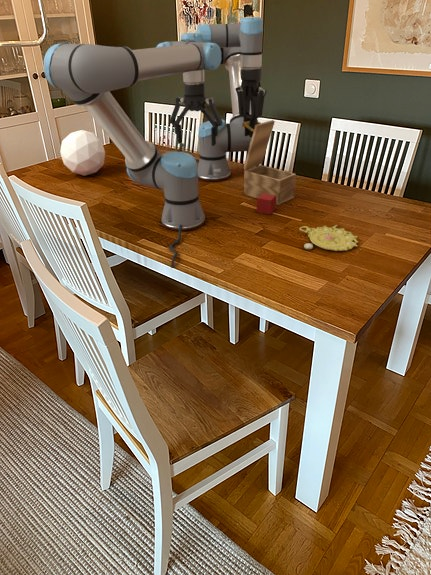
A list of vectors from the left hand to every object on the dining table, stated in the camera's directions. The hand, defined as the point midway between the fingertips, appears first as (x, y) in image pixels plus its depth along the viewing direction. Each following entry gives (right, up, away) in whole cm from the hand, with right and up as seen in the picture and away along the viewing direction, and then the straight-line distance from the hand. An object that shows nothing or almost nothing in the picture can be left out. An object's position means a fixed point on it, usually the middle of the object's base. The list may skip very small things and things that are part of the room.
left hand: (196, 144), depth 168 cm
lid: (+24, -1, 0) cm, 24 cm away
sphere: (-52, -2, +37) cm, 64 cm away
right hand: (+20, +4, +1) cm, 21 cm away
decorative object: (+43, -39, -27) cm, 64 cm away
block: (+26, -26, -5) cm, 37 cm away
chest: (+28, -18, +7) cm, 34 cm away
